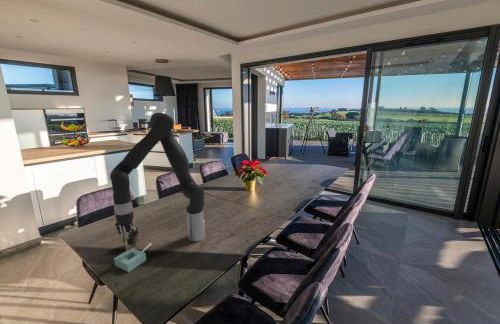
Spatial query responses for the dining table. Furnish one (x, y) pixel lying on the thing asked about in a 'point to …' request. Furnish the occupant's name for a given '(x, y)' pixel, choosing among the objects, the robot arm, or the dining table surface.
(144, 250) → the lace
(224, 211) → the dining table surface
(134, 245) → the cup
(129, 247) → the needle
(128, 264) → the teal open tray
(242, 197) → the dining table surface
